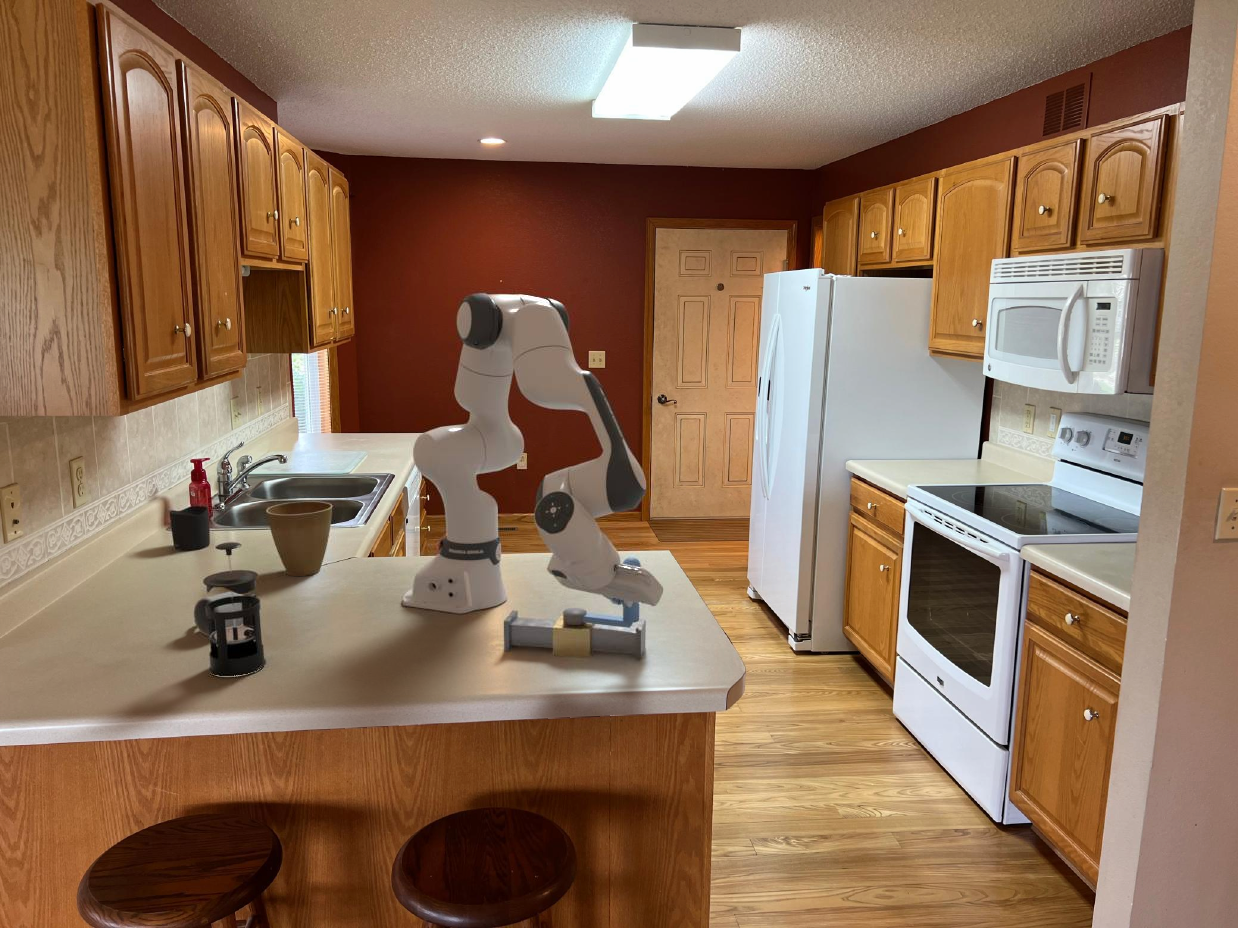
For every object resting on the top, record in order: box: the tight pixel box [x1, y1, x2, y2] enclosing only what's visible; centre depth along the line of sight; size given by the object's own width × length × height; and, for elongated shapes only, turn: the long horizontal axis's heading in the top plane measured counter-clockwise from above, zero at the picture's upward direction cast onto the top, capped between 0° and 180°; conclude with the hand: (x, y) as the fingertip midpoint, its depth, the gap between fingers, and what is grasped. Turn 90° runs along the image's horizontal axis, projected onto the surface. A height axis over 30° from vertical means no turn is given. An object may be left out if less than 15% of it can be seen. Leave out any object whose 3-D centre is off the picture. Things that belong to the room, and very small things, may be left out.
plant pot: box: [265, 500, 333, 577], centre depth 217 cm, size 15×15×16 cm
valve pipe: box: [503, 609, 647, 662], centre depth 170 cm, size 26×6×6 cm, turn 80°
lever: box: [562, 556, 642, 628], centre depth 167 cm, size 15×4×13 cm, turn 73°
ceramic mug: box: [193, 591, 245, 637], centre depth 181 cm, size 11×8×8 cm
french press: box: [202, 541, 267, 676], centre depth 161 cm, size 12×9×23 cm
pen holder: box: [168, 505, 211, 552], centre depth 238 cm, size 9×9×10 cm
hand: (623, 602), depth 164 cm, fingers closed
